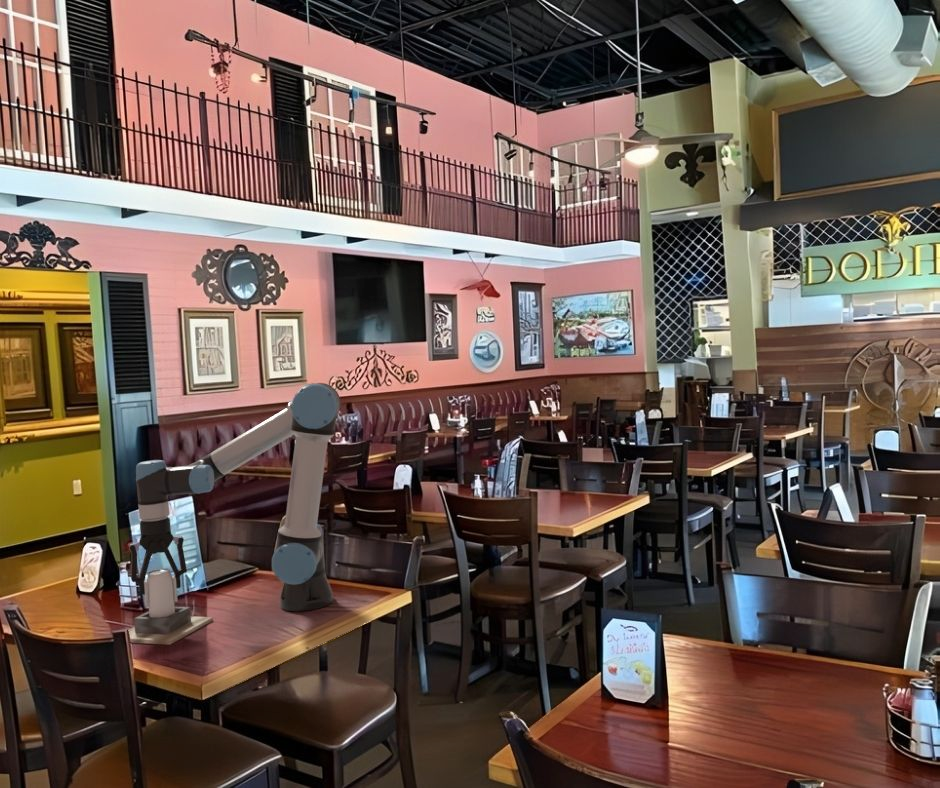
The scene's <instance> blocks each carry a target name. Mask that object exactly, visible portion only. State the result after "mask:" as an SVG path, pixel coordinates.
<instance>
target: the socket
mask: <svg viewBox="0 0 940 788" xmlns="http://www.w3.org/2000/svg"><path fill="white" fill-rule="evenodd" d="M213 620H214V619H213V617H212V616H192V615H191V607H190V606H175V613H174V614H172V615H170V616H168V617H166V618H155V617H150V616H149V610H148V611H146V612H144V613H142V614H140V615H138V616H136V617H134V618H133V622H134V626H133V627H131V628H130V629H127V630H128V631H129V634H130V638H131V643H133V644H149V645H150V644H152V645H173V644H174V643H176V642H177V641H179V640H181V639H183V638H184V637H186V636H188V635H190V634H191V633H194V632H195V631H197V630H198V629H201V628H202V627H204V626H206V625H208V624H210V623H212V622H213Z"/></svg>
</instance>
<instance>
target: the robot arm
mask: <svg viewBox="0 0 940 788" xmlns="http://www.w3.org/2000/svg"><path fill="white" fill-rule="evenodd" d="M340 408H341V397H340V395H339V393H338V391H337V390H336V389H335V388H334V387H333V386H332V385H330V384H327V383H322V382H316V383H314V382H313V383H309V384H305V385H304V386H302V387H301V388H299V390H297V392H296V393H295V395H294V397H293V398H292V400H291V401H289V402H288V403H287V407H286V408H284V409H283V410H281V411H278V413H276V414H274V415H273V416H270V417H269V418H268V419H266V420H264V421H262V422H261V423H259V424H257V425H256V426H254V427H251V428H249V430H247V431H246V432H244V433H242V434H240V435H238V436H237V437H235V438H234V439H232V440H230V441H228V442H227V443H225V444H223V445H222V446H220V447H218V448H216V449H215V450H213V451H212V452H211V453H208V454H207V455H205V456H203V457H202V458H200V459H198V460H196V461H195V462H192V463H190V464H188V465H181V466H173V467H172V466H167V465H166V461H165V460H161V459H153V460H146V461H141V462H139V463H137V464H136V467H135V474H136V475H135V477H136V478H135V482H136V492H137V503H138V505H137V507H138V519H140V522H139V527H140V528H139V531H140V538H139V540H138V541H136V542H134V543H130V544H129V545H128V547H129V549H130V553H131V555H130V558H131V559H130V561H131V563H130V579H131V582H133V583H138V589H139V594H140V595H141V596H143V595H144V606H145V608H149V598H148V585H147V580H145V579H146V575H147V574H148V572H147V571H148V568H149V565H150V561H151V558H152V555H156V554H157V553H159V554H162V553H164V555H165V558H166V559H167V561H168V564H169V566H170V568H171V570H172V572H173V574H174V575H172V579H173V591H174V603H177V602H178V600H179V599H178V590H177V589H180V588H181V587H182V586H181V585H182V584H181V583H182V582H181V576H182V575H184V574H186V573H187V570H188V569H187V564H186V558H185V554H184V548H183V547H184V546H183V545H184V537H183V536H181V535H178V536H176V535H175V536H174V535H173V534H172V529H171V519H170V517H169V515H170V505H169V496H174V495H175V496H176V495H191V494H192V495H193V494H198V495H200V494H203V493H210V492H212V490H213V488H214V486H215V482H216V481H217V480H219V479H221V478H223V477H224V476H226V475H227V474H229V473H231V472H232V471H234V470H236V469H237V468H239V467H240V466H243V465H245V464H246V463H247V462H250V461H251V460H253V459H254V458H257V457H258V456H259V455H262V454H263V453H265V452H266V451H268V450H270V449H271V448H273V447H275V446H277V445H279V444H280V443H282V442H283V441H285V440H287V439H288V438H290V437H291V436H295V441H294V447H293V448H294V449H293V456H292V457H293V458H292V466H291V473H290V480H289V481H290V482H289V489H288V494H287V495H288V497H287V505H286V511H285V520H284V524H283V525H282V526H281V527H279V528H278V531H277V538H276V545H275V551H274V553H273V555H272V556H271V568H272V571H273V574H274V575H275V577H276V578H277V579H278V580H279V581H281V582H282V583H283V585H282V589H281V594H280V598H279V601H280V602H279V603H280V604H279V605H280V608H281V609H282V610H284V611H287V612H305V611H307V612H308V611H313V610H317V609H321V608H324V607H327V606H328V605H330V604H332V603H333V602H334V592H333V589H332V587H331V585H330V582H329V580H328V578H327V575H326V567H325V566H326V564H325V554H324V553H325V552H324V541H323V540H324V539H323V536H324V532H323V527H322V525H320V523H318V518H319V511H320V504H321V497H322V496H321V495H322V488H323V479H324V473H325V464H326V456H327V449H328V442H329V440H330V439H332V438H333V437H334V436H335V431H336V426H337V425H336V424H337V418H338V417H337V416H338V414H339V412H340V410H341V409H340ZM172 542H174V544H175V545H176V550H177V554H178V555H177V556H178V560H179V566H180V568H179V569H178V567H177V565H176V562H175V561H174V558H173V556H172V554H171V552H170V549H169V547H170V546H171V544H172ZM140 546H141V547H142V548H143V549H144V550H145V553H144V558H143V561H142V566H141V568H140V572H139V576H138V575H137V574H138V551H139V550H140Z"/></svg>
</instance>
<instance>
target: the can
mask: <svg viewBox="0 0 940 788" xmlns="http://www.w3.org/2000/svg"><path fill="white" fill-rule="evenodd" d="M172 574H173V573H172V572H171V569H170V568H160V569H154V570H150V571H149V572H147V577H146V581H147V585H148V598H149V607H148V611H149V616H150V617H155V618H166V617H168V616H170V615H172V614H174V613H175V607H176V606H175V601H174V591H173V579H172V576H173V575H172Z"/></svg>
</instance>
